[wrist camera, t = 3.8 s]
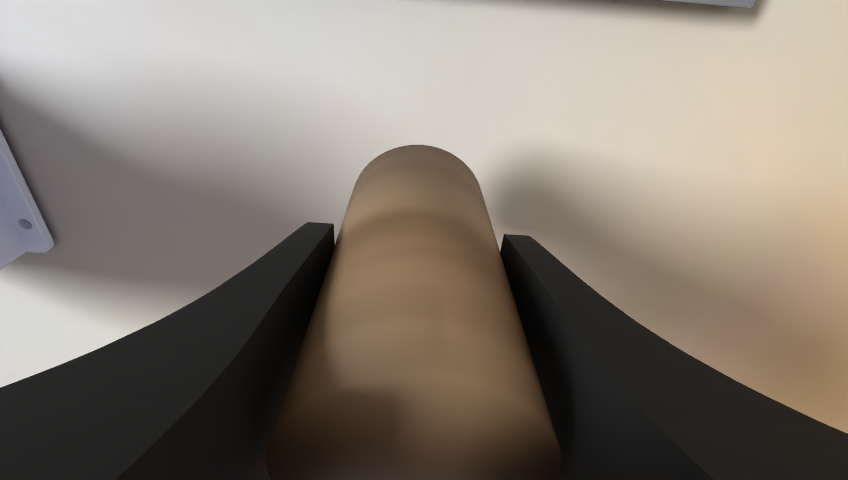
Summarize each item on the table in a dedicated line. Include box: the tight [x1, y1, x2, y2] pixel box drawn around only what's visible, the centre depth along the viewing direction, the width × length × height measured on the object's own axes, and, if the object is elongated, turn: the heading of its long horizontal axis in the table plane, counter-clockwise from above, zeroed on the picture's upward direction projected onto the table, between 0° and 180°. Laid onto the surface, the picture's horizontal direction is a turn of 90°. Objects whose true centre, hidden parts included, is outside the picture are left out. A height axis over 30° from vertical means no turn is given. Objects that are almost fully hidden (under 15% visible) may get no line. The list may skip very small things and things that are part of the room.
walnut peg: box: [266, 145, 561, 480], centre depth 9 cm, size 4×4×8 cm
